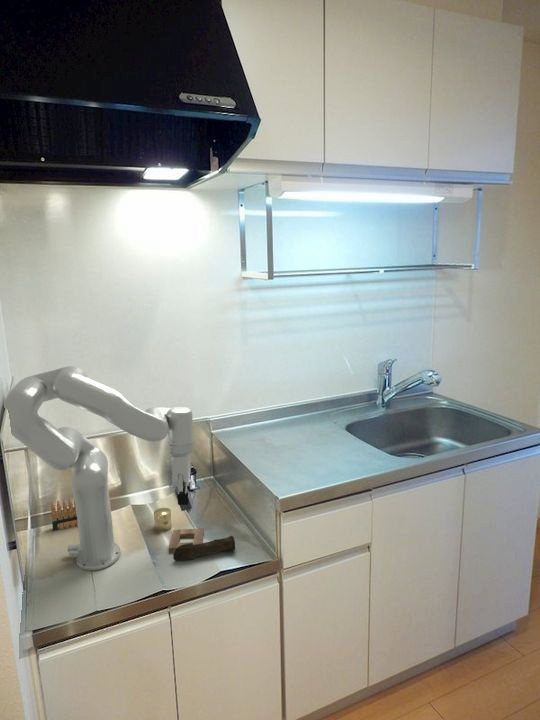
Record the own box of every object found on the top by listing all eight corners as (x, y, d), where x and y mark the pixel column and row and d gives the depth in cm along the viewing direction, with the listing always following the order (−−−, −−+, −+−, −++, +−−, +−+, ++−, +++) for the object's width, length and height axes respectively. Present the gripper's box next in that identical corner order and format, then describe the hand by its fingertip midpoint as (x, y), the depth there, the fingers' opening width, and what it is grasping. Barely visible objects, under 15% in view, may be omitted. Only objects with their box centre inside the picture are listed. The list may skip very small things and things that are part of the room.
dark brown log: (233, 544, 145) (232, 531, 144) (236, 551, 141) (235, 538, 140) (173, 556, 140) (172, 542, 139) (174, 564, 136) (173, 550, 135)
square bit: (181, 511, 143) (174, 491, 141) (182, 505, 146) (175, 486, 144) (192, 508, 143) (185, 488, 141) (192, 502, 146) (186, 483, 144)
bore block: (168, 554, 141) (168, 548, 141) (173, 535, 151) (173, 529, 151) (201, 552, 142) (200, 546, 141) (203, 533, 152) (203, 528, 151)
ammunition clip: (87, 525, 158) (83, 493, 155) (87, 528, 156) (83, 496, 154) (53, 532, 154) (49, 500, 151) (53, 535, 152) (48, 503, 150)
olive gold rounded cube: (153, 534, 152) (152, 517, 150) (156, 524, 157) (155, 508, 156) (170, 533, 152) (169, 516, 151) (173, 524, 158) (171, 507, 156)
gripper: (172, 437, 148) (175, 489, 152) (165, 458, 132) (168, 515, 135) (195, 436, 148) (197, 488, 152) (191, 457, 132) (193, 514, 136)
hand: (183, 500), depth 144 cm, fingers closed on square bit, 3 cm apart
